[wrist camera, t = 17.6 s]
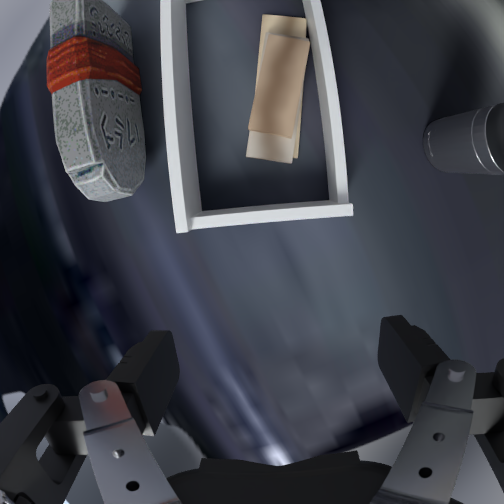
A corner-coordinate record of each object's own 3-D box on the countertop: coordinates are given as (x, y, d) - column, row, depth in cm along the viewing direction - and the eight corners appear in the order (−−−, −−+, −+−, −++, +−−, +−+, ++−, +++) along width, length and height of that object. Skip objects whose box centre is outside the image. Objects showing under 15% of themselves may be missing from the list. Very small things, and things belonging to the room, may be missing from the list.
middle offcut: (307, 43, 40) (309, 38, 38) (290, 163, 45) (291, 163, 43) (265, 37, 40) (265, 32, 38) (246, 157, 45) (245, 156, 43)
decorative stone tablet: (42, -1, 22) (62, 218, 31) (84, -23, 21) (107, 207, 30) (104, 35, 40) (126, 192, 49) (137, 22, 40) (161, 185, 49)
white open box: (307, -14, 38) (315, -46, 28) (339, 209, 47) (357, 217, 37) (177, -1, 39) (161, -30, 29) (193, 221, 48) (176, 233, 38)
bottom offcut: (305, 23, 41) (306, 18, 39) (296, 158, 46) (297, 157, 44) (262, 19, 41) (262, 14, 39) (250, 154, 46) (249, 153, 44)
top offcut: (308, 47, 38) (310, 41, 36) (290, 138, 42) (292, 136, 40) (268, 39, 38) (268, 33, 36) (248, 130, 42) (247, 128, 40)
